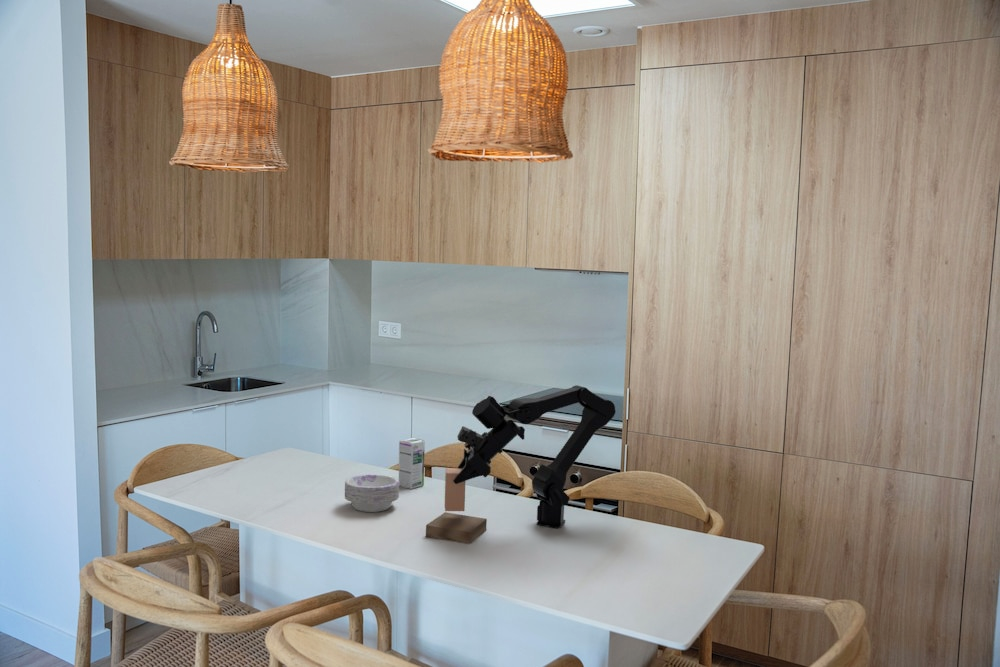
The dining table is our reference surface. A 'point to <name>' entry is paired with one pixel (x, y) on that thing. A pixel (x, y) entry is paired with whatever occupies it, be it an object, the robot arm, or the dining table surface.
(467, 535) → the walnut plinth
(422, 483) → the syrup box
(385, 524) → the dining table surface
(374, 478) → the paper bowls
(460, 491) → the terracotta block
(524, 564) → the dining table surface
